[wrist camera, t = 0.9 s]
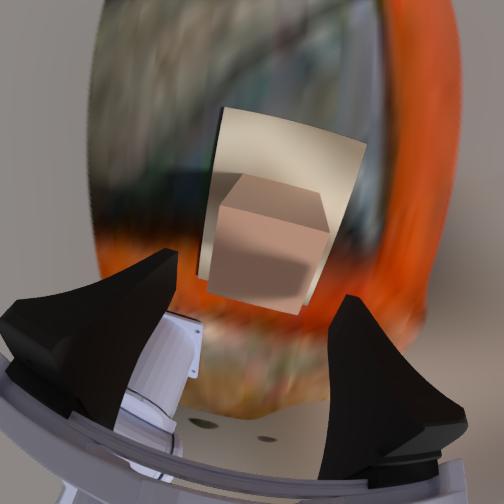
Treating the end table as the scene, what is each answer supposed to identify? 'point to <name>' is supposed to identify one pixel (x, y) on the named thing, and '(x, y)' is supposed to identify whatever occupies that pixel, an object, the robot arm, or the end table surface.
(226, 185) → the birch board
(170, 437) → the robot arm
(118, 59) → the end table surface
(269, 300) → the salmon cube
